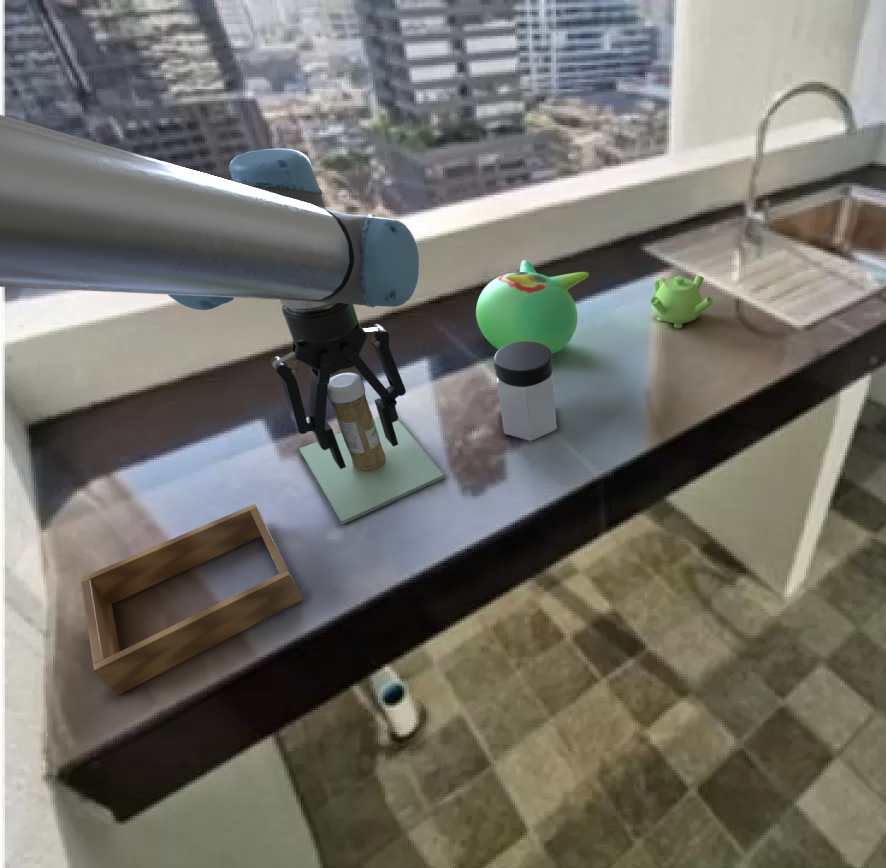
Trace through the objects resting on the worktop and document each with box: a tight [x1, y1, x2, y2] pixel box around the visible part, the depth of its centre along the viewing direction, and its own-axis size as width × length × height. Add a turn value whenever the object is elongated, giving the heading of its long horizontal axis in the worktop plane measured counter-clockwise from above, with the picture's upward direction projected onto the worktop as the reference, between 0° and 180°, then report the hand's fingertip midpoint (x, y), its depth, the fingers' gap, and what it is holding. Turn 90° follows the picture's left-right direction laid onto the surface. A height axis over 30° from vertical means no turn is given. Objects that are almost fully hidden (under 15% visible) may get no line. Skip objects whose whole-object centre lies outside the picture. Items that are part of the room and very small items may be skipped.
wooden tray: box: [80, 503, 303, 696], centre depth 66 cm, size 18×14×4 cm
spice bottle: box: [327, 372, 385, 471], centre depth 80 cm, size 5×5×13 cm
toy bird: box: [475, 259, 590, 355], centre depth 104 cm, size 18×17×15 cm
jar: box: [493, 341, 558, 442], centre depth 88 cm, size 9×8×12 cm
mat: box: [299, 417, 445, 525], centre depth 85 cm, size 18×14×1 cm
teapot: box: [650, 274, 714, 329], centre depth 115 cm, size 11×12×8 cm
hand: (366, 451), depth 83 cm, fingers open, 7 cm apart
